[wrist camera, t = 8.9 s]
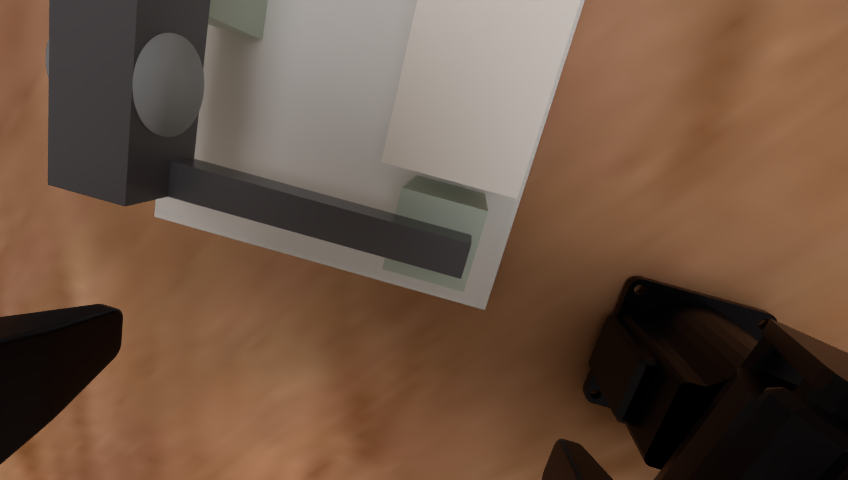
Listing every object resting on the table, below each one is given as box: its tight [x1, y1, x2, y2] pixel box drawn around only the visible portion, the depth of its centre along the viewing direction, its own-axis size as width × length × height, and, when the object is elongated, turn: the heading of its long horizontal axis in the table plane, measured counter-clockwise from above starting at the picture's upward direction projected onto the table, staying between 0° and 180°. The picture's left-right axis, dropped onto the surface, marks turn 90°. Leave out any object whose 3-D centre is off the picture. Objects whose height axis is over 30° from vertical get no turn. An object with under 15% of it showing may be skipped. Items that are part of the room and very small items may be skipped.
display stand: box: [154, 0, 585, 310], centre depth 15 cm, size 16×20×7 cm
